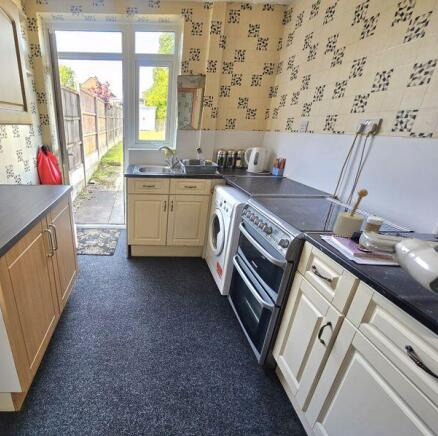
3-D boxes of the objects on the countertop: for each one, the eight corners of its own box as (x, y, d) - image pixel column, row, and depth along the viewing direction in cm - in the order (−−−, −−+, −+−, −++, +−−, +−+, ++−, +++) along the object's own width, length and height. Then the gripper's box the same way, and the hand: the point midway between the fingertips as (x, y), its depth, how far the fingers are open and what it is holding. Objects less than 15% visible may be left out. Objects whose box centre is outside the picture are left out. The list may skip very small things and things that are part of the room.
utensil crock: (353, 232, 113) (369, 186, 105) (361, 240, 105) (379, 191, 97) (330, 228, 116) (344, 184, 108) (336, 236, 108) (352, 188, 100)
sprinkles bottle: (371, 250, 97) (384, 218, 92) (370, 253, 94) (383, 221, 89) (357, 246, 100) (368, 215, 95) (355, 249, 97) (367, 218, 92)
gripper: (366, 257, 75) (349, 238, 87) (456, 272, 68) (425, 249, 80) (373, 238, 72) (355, 222, 85) (467, 252, 66) (433, 232, 78)
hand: (390, 235), depth 82 cm, fingers open, 8 cm apart
